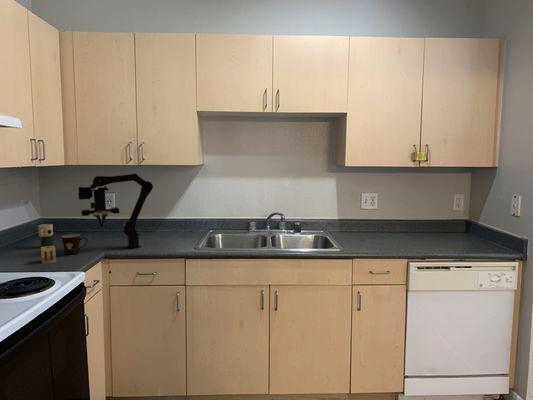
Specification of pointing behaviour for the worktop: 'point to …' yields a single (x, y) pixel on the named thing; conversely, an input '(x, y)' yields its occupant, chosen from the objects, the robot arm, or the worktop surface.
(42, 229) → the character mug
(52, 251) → the numbered maple block
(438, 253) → the worktop surface
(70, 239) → the coffee mug
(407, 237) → the worktop surface
